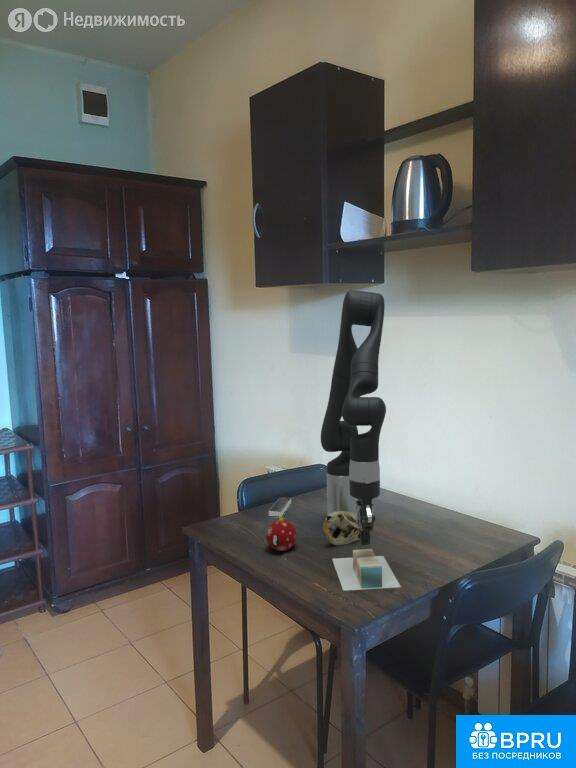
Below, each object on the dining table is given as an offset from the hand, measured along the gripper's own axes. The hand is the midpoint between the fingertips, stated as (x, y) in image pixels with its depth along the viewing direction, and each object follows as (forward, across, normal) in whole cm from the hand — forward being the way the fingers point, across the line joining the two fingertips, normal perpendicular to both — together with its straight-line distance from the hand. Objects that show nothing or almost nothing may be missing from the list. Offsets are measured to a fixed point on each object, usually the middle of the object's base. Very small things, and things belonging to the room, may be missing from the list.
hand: (365, 543), depth 144 cm
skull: (+9, -22, -2) cm, 24 cm away
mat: (+8, -1, 0) cm, 9 cm away
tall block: (+5, -4, 0) cm, 6 cm away
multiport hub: (+9, -52, -18) cm, 56 cm away
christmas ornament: (+9, -19, -20) cm, 29 cm away
